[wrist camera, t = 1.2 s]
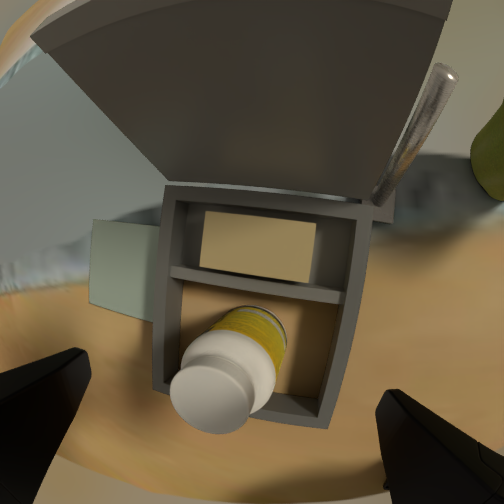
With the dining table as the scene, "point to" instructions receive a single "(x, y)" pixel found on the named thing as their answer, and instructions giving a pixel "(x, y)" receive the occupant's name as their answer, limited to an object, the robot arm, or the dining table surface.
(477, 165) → the plant pot
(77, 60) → the lid
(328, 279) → the case
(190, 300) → the dining table surface
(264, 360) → the supplement bottle
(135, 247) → the pad
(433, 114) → the rod
